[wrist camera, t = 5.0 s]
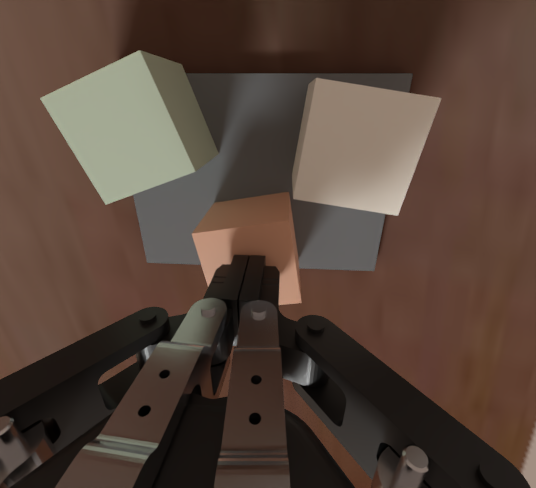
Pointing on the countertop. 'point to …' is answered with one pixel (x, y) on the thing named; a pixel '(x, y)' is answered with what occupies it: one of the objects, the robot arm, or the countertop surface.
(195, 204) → the mat
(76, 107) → the sage cube
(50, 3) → the countertop surface
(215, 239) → the terracotta cube
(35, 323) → the countertop surface
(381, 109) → the cream cube
